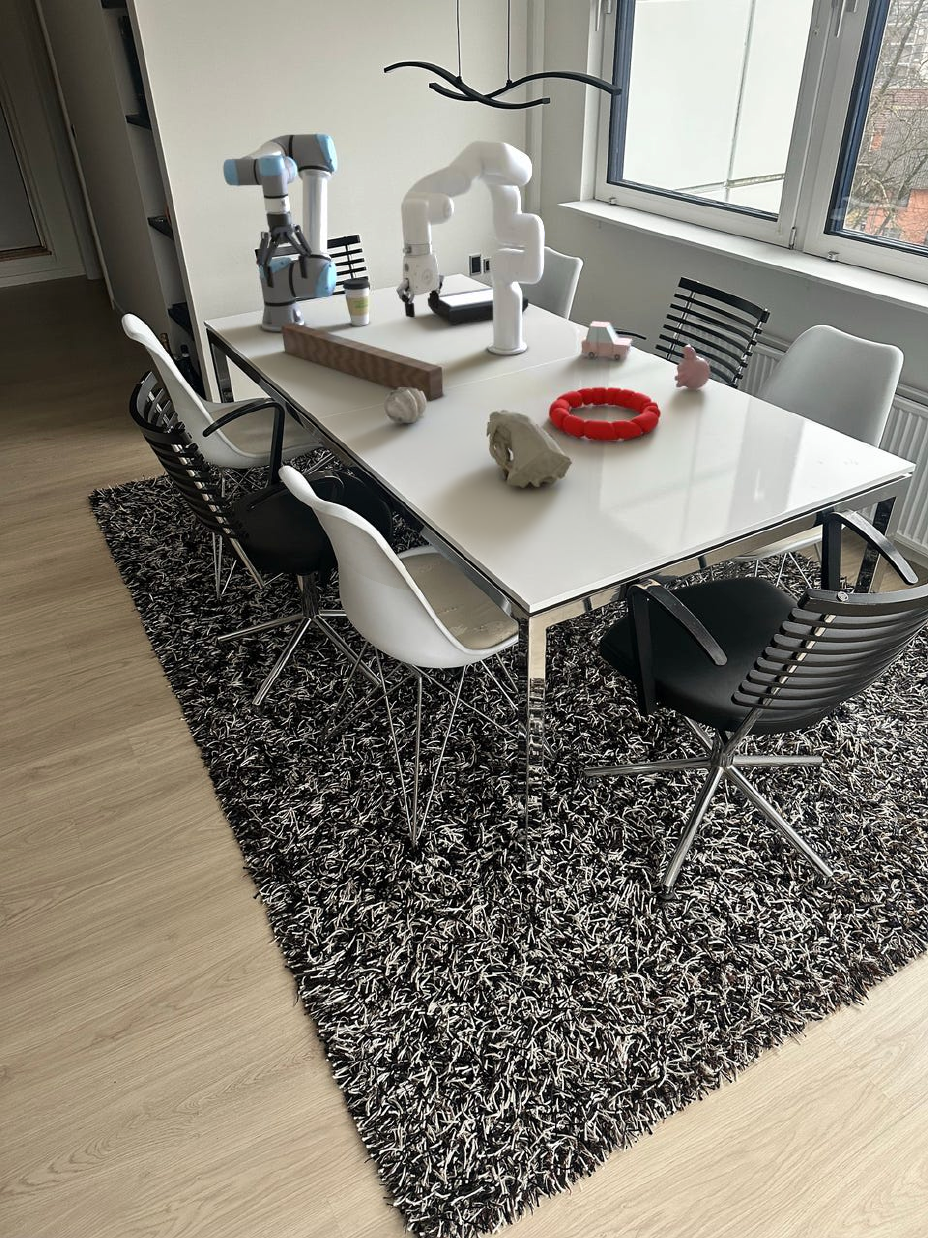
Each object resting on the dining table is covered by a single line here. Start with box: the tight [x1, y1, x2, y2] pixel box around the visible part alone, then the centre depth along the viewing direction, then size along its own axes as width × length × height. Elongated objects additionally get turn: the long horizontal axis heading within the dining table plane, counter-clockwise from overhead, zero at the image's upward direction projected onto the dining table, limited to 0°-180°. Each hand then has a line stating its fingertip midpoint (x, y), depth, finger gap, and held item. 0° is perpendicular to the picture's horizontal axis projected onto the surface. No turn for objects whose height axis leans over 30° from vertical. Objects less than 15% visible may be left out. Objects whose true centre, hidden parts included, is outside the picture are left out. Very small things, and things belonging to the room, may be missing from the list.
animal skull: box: [485, 409, 573, 489], centre depth 216 cm, size 17×25×20 cm
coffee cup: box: [342, 277, 371, 327], centre depth 323 cm, size 10×10×15 cm
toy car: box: [580, 320, 633, 361], centre depth 286 cm, size 9×15×10 cm, turn 70°
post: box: [281, 323, 444, 401], centre depth 280 cm, size 71×5×9 cm, turn 46°
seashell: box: [383, 387, 427, 424], centre depth 244 cm, size 10×15×10 cm
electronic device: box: [427, 287, 529, 325], centre depth 331 cm, size 32×6×20 cm
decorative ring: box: [548, 386, 661, 442], centre depth 242 cm, size 7×30×30 cm
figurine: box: [674, 344, 711, 390], centre depth 259 cm, size 9×11×12 cm
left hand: (288, 282), depth 288 cm, fingers open, 13 cm apart
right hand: (422, 312), depth 251 cm, fingers open, 9 cm apart
